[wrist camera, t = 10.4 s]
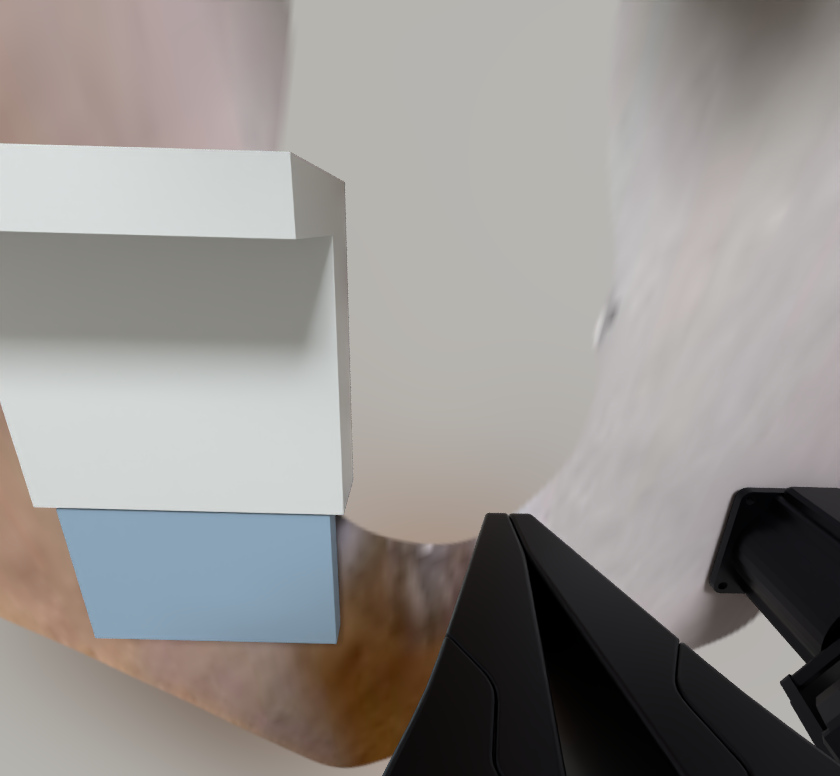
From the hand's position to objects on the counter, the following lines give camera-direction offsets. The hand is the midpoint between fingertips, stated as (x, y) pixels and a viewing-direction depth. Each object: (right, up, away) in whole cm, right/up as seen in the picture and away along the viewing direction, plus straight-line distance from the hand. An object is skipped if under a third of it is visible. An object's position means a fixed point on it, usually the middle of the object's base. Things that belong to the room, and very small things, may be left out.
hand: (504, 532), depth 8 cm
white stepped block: (-12, +5, +12) cm, 18 cm away
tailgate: (-12, -3, +13) cm, 18 cm away
